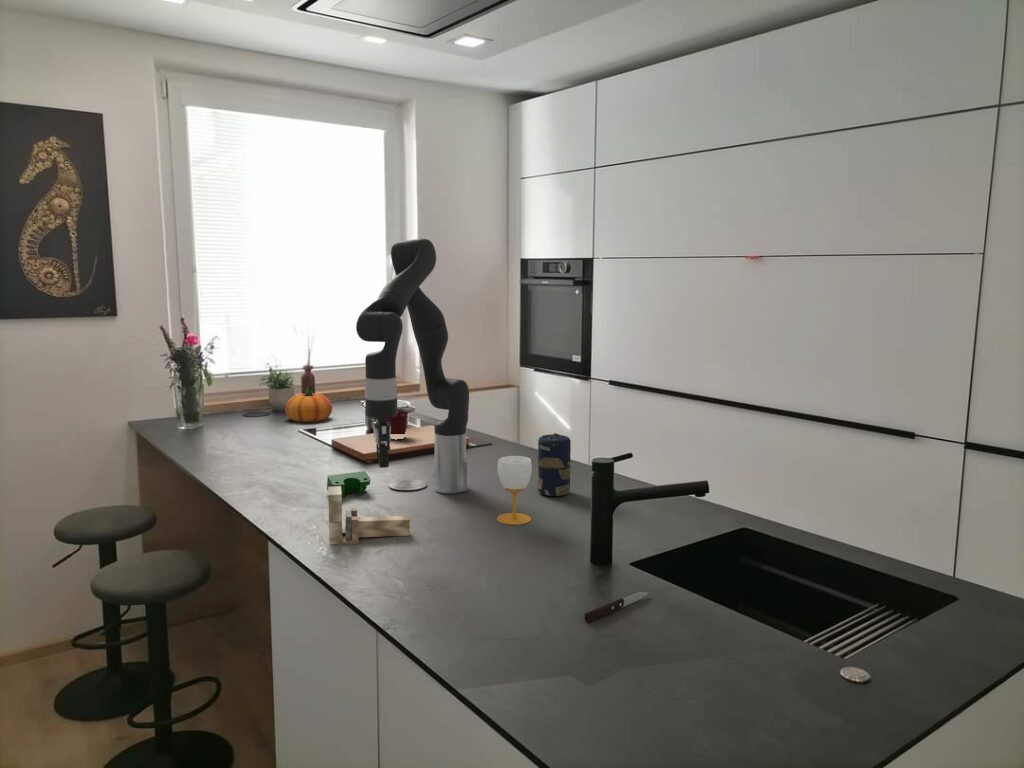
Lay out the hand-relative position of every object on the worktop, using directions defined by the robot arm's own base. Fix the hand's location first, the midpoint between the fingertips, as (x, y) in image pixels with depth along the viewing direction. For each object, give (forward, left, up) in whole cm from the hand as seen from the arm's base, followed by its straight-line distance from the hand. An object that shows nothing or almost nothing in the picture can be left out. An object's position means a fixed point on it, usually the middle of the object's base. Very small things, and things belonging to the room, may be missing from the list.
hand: (382, 462), depth 177 cm
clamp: (+7, -36, -19) cm, 41 cm away
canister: (-51, -25, -19) cm, 60 cm away
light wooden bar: (+1, 0, -18) cm, 18 cm away
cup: (-34, -5, -19) cm, 39 cm away
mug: (-13, -106, -19) cm, 108 cm away
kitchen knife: (-41, +50, -19) cm, 67 cm away
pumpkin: (+21, -151, -19) cm, 154 cm away
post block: (+10, 0, -18) cm, 21 cm away
